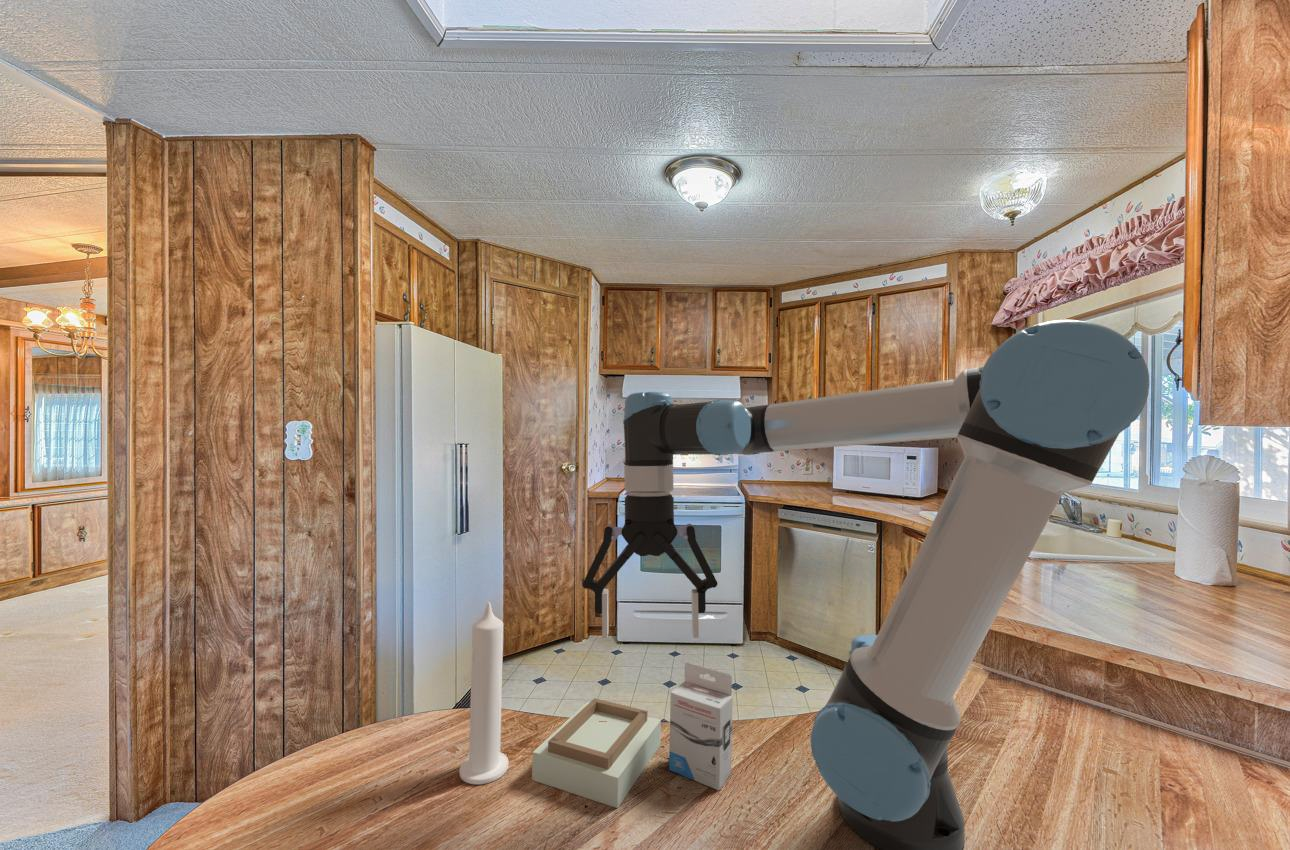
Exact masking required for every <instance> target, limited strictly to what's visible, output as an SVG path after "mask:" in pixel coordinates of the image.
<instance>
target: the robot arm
mask: <svg viewBox="0 0 1290 850" xmlns="http://www.w3.org/2000/svg"><path fill="white" fill-rule="evenodd" d="M1149 390H1150V372H1149V368H1148V365H1147V363H1146V361H1145V359H1144V357H1143V355H1142V353H1141V351H1140V350H1139V349H1138V347H1136V346H1135V344H1134V343H1133V342H1132V341H1130V340H1129V339H1128V338H1127V337H1126V336H1125V335H1123V334H1121V333H1120V332H1118V331H1116V330H1113V329H1112V328H1110V327H1107V326H1105V325H1101V324H1099V323H1095V322H1093V321H1092V322H1091V321H1085V320H1077V319H1060V320H1059V319H1058V320H1050V321H1046V322H1041V323H1038V324H1034V325H1031V326H1028V327H1027V328H1024V329H1022V330H1020V331H1018V332H1016V333H1015V334H1013V335H1012V336H1010V337H1009V338H1008V339H1006V340H1005V341H1003V343H1001V344H1000V345H998V348H997V349H996V350H994V351H993V352H992V353H991V354H990V355H989V357H988V358H987V360H986V362H985V364H984V365H983V366H980V367H975V368H974V367H973V368H967V369H963V370H962V371H961V372H960V373H959V375H958V376H957V377H955V378H954V379H953V378H952V379H945V380H938V381H931V382H924V383H916V384H910V385H902V386H896V387H889V388H888V387H887V388H881V389H872V390H866V391H860V392H859V391H858V392H852V393H851V392H850V393H844V394H837V395H836V394H835V395H829V396H822V397H814V398H807V399H801V400H793V401H791V400H790V401H786V402H785V401H784V402H779V403H771V404H764V405H754V406H749V407H745V406H744V405H743V403H742V402H740V401H737V400H721V399H714V400H712V401H703V402H693V403H692V402H691V403H683V404H682V403H680V404H678V403H677V404H675V403H673V402H674V401H673V397H672V396H671V394H670V393H667V392H664V391H663V392H661V391H648V392H646V391H642V392H641V391H640V392H634V393H630V394H629V395H627V397H626V398H625V401H624V414H623V417H624V418H623V419H622V420H623V423H622V424H623V433H624V436H623V437H624V454H625V455H624V456H625V457H624V458H625V459H624V474H623V475H624V491H625V492H626V493H628V494H627V495H625V496H626V497H624V525H623V526H622V527H621V526H613V525H612V524H607V525H606V526H605V527H604V530H603V539H602V543H601V545H600V547H599V549H598V551H597V552H596V555H595V557H594V559H593V561H592V563H591V565H590V567H589V570H588V572H587V573H586V576H585V578H584V580H583V582H582V587H583V588H584V589H585V590H587V589H588V590H591V591H593V593H594V611H595V614H596V615H601V627H602V628H601V638H602V639H608V636H609V631H610V628H609V624H610V623H609V621H610V620H609V588H606V587H607V585H608V584H609V583H610V582H611V580H612V579H613V578H614V577H615V576H616V575H617V574H618V572H619V571H620V570H621V568H622V567H623V566H624V565H625V564H626V562H627V561H628V560H629V559H630V558H631V557H633V555H634V554H635V555H637V556H639V557H646V556H649V555H650V556H653V557H660V556H661V555H664V554H666V555H667V556H668V557H669V559H671V560H672V561H673V563H674V564H675V565H676V567H678V568H679V570H680V571H681V572H682V573H683V574H684V575H685V577H686V578H687V580H689V581H690V582H691V584H692V585H693V586H694V587H695V588H694V587H691V633H692V636H693V638H695V639H696V638H698V639H699V637H700V636H699V635H700V631H699V623H700V622H699V614H705V612H706V611H707V609H706V607H707V606H706V602H707V601H706V592H707V591H708V590H710V589H712V588H713V589H714V588H716V587H718V581H717V579H716V577H715V575H714V574H713V571H712V569H711V567H710V565H709V563H708V561H707V559H706V557H705V555H704V553H703V552H702V549H701V547H700V546H699V544H698V542H697V537H696V530H695V527H694V526H693V524H691V523H687V524H686V525H682V526H681V525H680V526H676V525H675V513H674V511H675V508H674V504H675V503H674V496H673V495H672V494H671V493H670V492H673V490H674V456H675V455H676V456H679V455H714V456H727V455H746V456H748V455H760V454H763V453H773V452H785V451H796V450H810V449H822V448H823V449H825V448H835V447H836V448H837V447H850V446H852V447H853V446H862V445H874V444H877V445H878V444H889V443H901V442H902V443H903V442H904V443H905V442H915V441H917V442H918V441H928V440H943V439H953V438H954V439H955V438H957V441H958V443H959V445H960V448H961V450H962V451H963V456H964V458H963V459H962V463H961V464H960V466H959V467H958V470H957V472H956V475H955V477H954V478H953V481H952V483H951V484H950V487H949V489H948V490H947V493H946V495H945V497H944V499H943V501H942V503H941V504H940V507H939V508H938V510H937V513H936V515H935V517H934V519H933V521H932V523H931V524H930V527H929V529H928V532H926V533H927V534H926V536H925V538H924V540H923V542H922V544H921V546H920V548H919V550H918V552H917V554H916V556H915V558H914V560H913V562H912V564H911V566H910V567H909V570H908V572H907V574H906V576H905V579H904V580H903V582H902V584H901V587H900V589H899V590H898V593H897V595H896V596H895V598H894V600H893V602H892V605H891V607H890V609H889V611H888V613H887V616H886V617H885V619H884V621H883V624H882V625H881V627H880V629H879V631H878V633H877V634H861V635H858V636H855V637H854V638H853V639H852V640H851V644H850V650H849V658H848V661H846V662H847V663H845V667H844V668H843V670H842V673H841V675H840V676H839V679H838V680H837V683H836V685H835V687H834V689H833V691H832V693H831V695H830V697H829V698H828V701H827V703H826V704H825V705H824V706H823V707H822V708H821V709H820V710H819V711H818V712H817V713H816V716H815V717H814V720H813V725H812V728H811V731H810V749H811V750H810V751H811V754H812V757H813V760H814V761H815V764H816V766H817V770H818V772H819V774H820V775H821V777H822V779H823V780H824V782H825V783H826V785H827V786H828V787H829V788H830V790H831V791H832V792H833V793H834V794H835V795H836V796H837V805H838V810H839V812H840V814H841V816H842V818H843V820H844V821H845V822H846V823H847V825H848V826H849V827H850V828H851V829H852V830H853V831H854V832H855V833H856V834H857V835H858V836H859V837H861V838H862V839H864V840H865V841H866V842H867V843H869V844H871V846H873V847H876V848H878V849H880V850H963V849H964V846H965V839H966V838H965V837H966V835H965V828H966V827H965V819H964V818H965V817H964V814H963V812H962V809H961V805H960V803H959V799H958V796H957V793H956V791H955V788H954V785H953V781H952V779H951V776H950V774H949V768H948V767H949V766H948V765H949V764H948V758H949V757H948V754H949V751H948V750H949V749H948V747H949V744H950V742H951V740H952V739H953V737H954V734H955V733H956V731H957V729H958V727H959V725H960V723H961V721H962V717H961V712H960V710H959V708H958V705H957V704H956V701H955V698H954V696H955V695H956V692H957V690H958V689H959V686H960V684H961V683H962V681H963V679H964V678H965V675H966V673H967V672H968V670H969V668H970V666H971V664H972V662H973V660H974V659H975V657H976V654H977V653H978V651H979V649H980V647H981V646H982V644H983V642H984V640H985V638H986V636H987V635H988V632H989V631H990V630H991V627H992V625H993V624H994V621H995V619H997V616H998V614H999V612H1000V611H1001V608H1002V607H1003V604H1004V603H1005V601H1006V599H1007V598H1008V596H1009V593H1010V591H1011V590H1012V588H1013V586H1014V584H1015V582H1016V581H1017V579H1018V577H1019V575H1020V573H1021V572H1022V570H1023V568H1024V566H1025V564H1026V562H1027V560H1028V559H1029V557H1030V555H1031V553H1032V551H1033V549H1034V547H1035V546H1036V544H1037V543H1038V542H1037V541H1038V540H1039V538H1040V536H1041V534H1042V533H1043V530H1044V529H1045V527H1046V526H1047V523H1048V522H1049V519H1050V518H1051V516H1052V514H1053V512H1054V511H1055V508H1056V506H1057V504H1058V503H1059V501H1060V500H1061V497H1062V496H1063V495H1064V494H1065V493H1067V492H1069V491H1074V490H1077V489H1081V488H1084V487H1088V486H1091V485H1092V483H1093V482H1094V480H1095V478H1096V477H1097V475H1098V473H1099V470H1100V469H1101V467H1102V465H1103V464H1104V463H1105V461H1106V459H1107V456H1108V455H1109V454H1110V451H1111V449H1112V447H1113V446H1114V444H1115V442H1116V441H1117V439H1118V437H1119V435H1120V434H1121V433H1122V432H1124V431H1125V430H1126V429H1128V428H1129V427H1130V426H1131V424H1132V423H1133V422H1135V421H1136V420H1137V419H1138V417H1139V416H1140V415H1141V413H1142V411H1143V410H1144V408H1145V405H1146V403H1147V401H1148V397H1149ZM677 535H680V536H681V538H682V540H683V541H687V542H688V546H689V548H690V549H691V551H692V553H693V555H694V558H695V559H696V561H697V563H698V565H699V567H700V569H701V570H702V573H703V575H704V576H705V578H704V579H701V578H700V576H699V575H698V574H697V573H696V572H695V570H694V569H693V568H692V567H691V566H690V565H689V563H688V562H687V561H686V560H685V559H684V558H683V557H682V555H681V554H680V552H678V551H677V549H676V547H674V545H673V544H672V543H673V541H674V540H675V539H676V537H677ZM619 536H622V538H623V539H624V540H625V542H626V543H627V544H626V546H625V547H624V548H623V550H622V551H621V553H620V554H619V555H618V556H617V557H616V558H615V560H614V561H613V562H612V563H611V565H610V566H609V567H608V568H607V570H605V572H604V573H603V575H601V577H600V578H599V579H598V580H596V579H595V578H596V575H597V574H598V571H599V569H600V566H601V565H602V563H603V561H604V559H605V556H606V554H607V553H608V550H609V548H610V546H611V543H612V542H615V541H616V540H617V539H618V537H619Z"/></svg>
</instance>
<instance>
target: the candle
mask: <svg viewBox="0 0 1290 850" xmlns="http://www.w3.org/2000/svg"><path fill="white" fill-rule="evenodd" d="M471 636H472V639H471V669H470V670H471V671H470V672H471V673H470V674H471V675H470V676H471V677H470V678H471V679H470V704H469V705H470V707H469V708H470V709H469V712H470V713H469V741H468V743H469V744H468V745H469V746H468V757H466V759H464V760H463V761H462V763H461V765H460V767H459V771H458V772H459V777H460V779H461V780H462V781H463V782H465V783H466V784H470V785H484V784H489V783H493V782H494V781H495V782H496V781H497V780H498V779H500V778H501V777H503V776H504V775H505V774H506V772H507V771H508V769H509V762H510V761H509V757H508V756H507V755H506V754H505V753H503V752H501V732H502V731H501V729H502V697H503V695H502V693H503V660H504V659H503V657H504V656H503V655H504V653H503V652H504V650H503V649H504V648H503V647H504V622H503V620H501V619H500V618H498V617H497V616H496V615H495V614H494V613H493V609H492V604H491V602H490V601H488V602H486V607H485V609H484V614H483V615H482V617H480V618H479V619H477V620H476V622H474V623H473V625H472V635H471Z"/></svg>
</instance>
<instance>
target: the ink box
mask: <svg viewBox="0 0 1290 850" xmlns="http://www.w3.org/2000/svg"><path fill="white" fill-rule="evenodd" d="M700 675H709V676H710V677H711V678H714V679H715V680H710V679H707V678H705V677H704V678H703V677H701V676H700ZM732 682H733V678H732V675H731V673H727V672H723V671H720V670H716V669H712V668H709V667H706V666H703V665H698V664H695V663H691V662H689V661H687V662H685V663H684V681H683V682H682V683H681V684H679V685H678V686H677V687H676V688H674V689H672V691H671V692H670V702H669V703H670V708H669V709H670V712H669V714H670V716H669V751H668V752H669V753H668V754H669V756H668V758H669V759H668V763H669V765H668V770H669V771H671V772H673V773H675V774H678V775H681V776H683V777H685V778H687V779H690V780H692V781H695V782H697V783H700V784H702V785H705V786H707V787H709V788H712V789H714V790H716V791H720V790H721V789H722V787H723V786H724V784H725V783H726V782H727V780H728V779H729V777H730V775H732V774H731V773H732V745H733V744H732V743H733V738H732V737H733V699H734V698H733V693H732V688H733V687H732Z"/></svg>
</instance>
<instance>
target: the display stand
mask: <svg viewBox="0 0 1290 850" xmlns="http://www.w3.org/2000/svg"><path fill="white" fill-rule="evenodd" d="M599 721H607V722H599ZM661 731H662V720H661V719H658V718H654V717H650V716H648V710H645V709H641V708H636V707H633V706H629V705H625V704H621V703H616V702H612V701H607V700H604V699H600V698H593V699H592V700H591V701H586V703H585V702H584V704H583V705H582V706H581V707H580V708H579V709H578V710H576V712H574V713H573V714H572V715H571V716H570V717H569V718H568V719H567V720H566V721H565V722H564V723H563V724H561V725H560V726H559V727H558V728H557V729H556V730H555V731H554V732H553V733H552V734H550V735H549V737H547V738H546V739H545V740H544V741H543V742H542V743H541V744H539V746H538V747H536V748H535V749H534V750H533V751H532V765H531V768H532V769H531V770H532V772H531V773H532V774H531V776H532V777H531V780H532V781H534V782H538V783H540V784H544V785H545V786H549V787H553V788H554V789H558V790H561V791H565V792H567V793H571V794H573V795H577V796H580V797H582V798H585V799H589V800H592V801H595V802H597V803H600V804H604V805H607V806H610V807H611V808H612V807H613V808H616V809H618V808H619V807H620V806H621V804H622V803H623V801H624V800H625V798H626V797H627V795H628V793H629V792H630V791H631V789H632V788H633V786H634V785H635V783H636V781H637V780H638V779H639V777H640V776H641V775H642V773H643V771H644V770H645V768H646V767H647V766H648V764H649V763H650V761H651V760H652V758H653V757H654V756H655V754H656V752H657V750H658V749H659V748H660V746H661V744H662V743H661V742H662V741H661V740H662V739H661V736H662V735H661V734H662V733H661Z"/></svg>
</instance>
